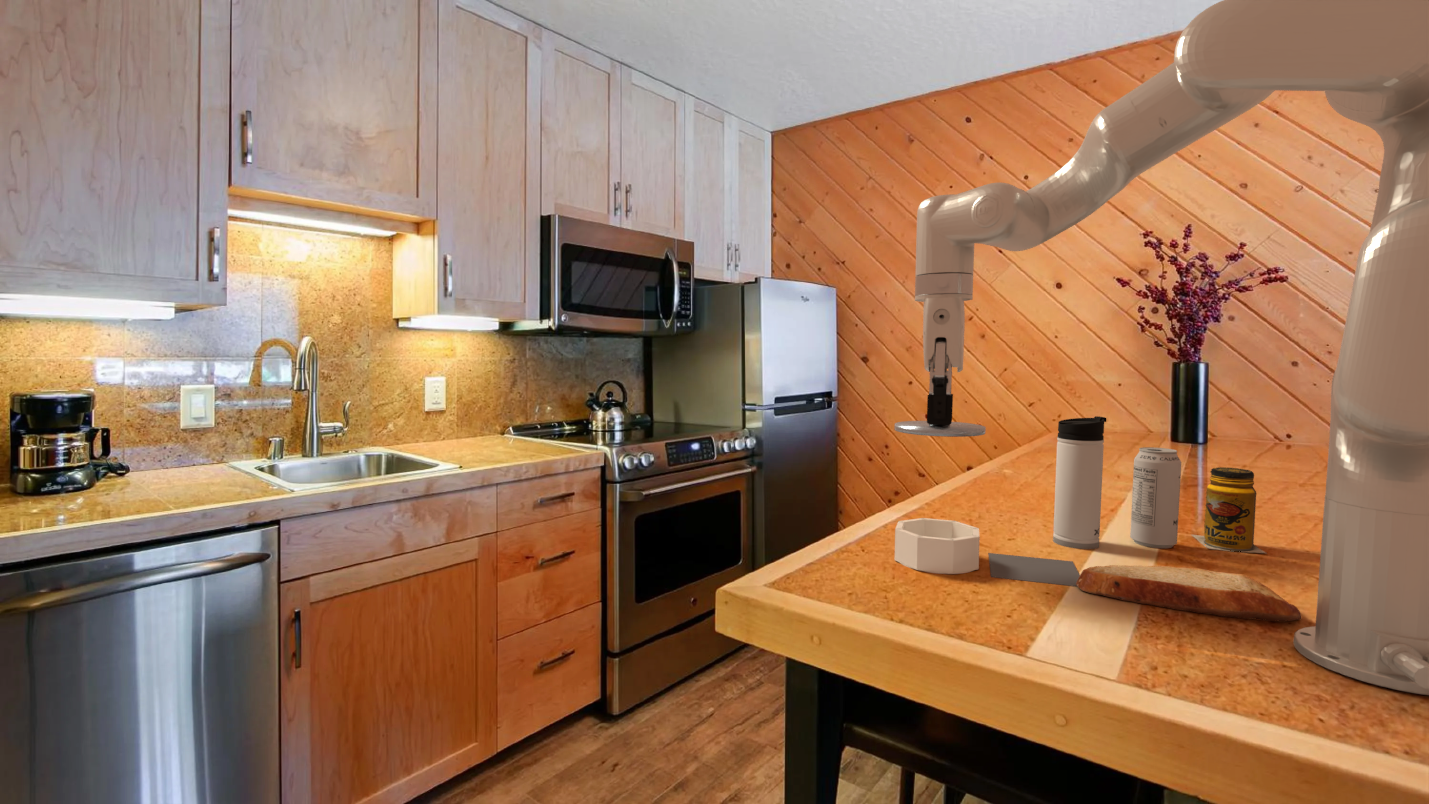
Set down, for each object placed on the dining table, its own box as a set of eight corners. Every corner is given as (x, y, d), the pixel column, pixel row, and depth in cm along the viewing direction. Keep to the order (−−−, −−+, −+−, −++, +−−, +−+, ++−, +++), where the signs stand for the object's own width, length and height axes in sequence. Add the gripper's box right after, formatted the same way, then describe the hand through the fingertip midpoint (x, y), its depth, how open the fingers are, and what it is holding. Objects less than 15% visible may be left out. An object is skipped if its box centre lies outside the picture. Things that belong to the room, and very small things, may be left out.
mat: (1085, 590, 83) (1085, 587, 83) (990, 579, 87) (991, 576, 87) (1072, 564, 93) (1072, 561, 93) (988, 555, 97) (988, 552, 97)
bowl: (978, 580, 86) (980, 543, 86) (892, 570, 90) (892, 534, 90) (977, 556, 97) (978, 522, 96) (899, 548, 101) (900, 516, 100)
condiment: (1208, 550, 100) (1213, 471, 99) (1190, 535, 108) (1194, 463, 107) (1267, 555, 98) (1272, 475, 97) (1244, 539, 106) (1249, 465, 105)
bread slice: (1062, 583, 84) (1064, 554, 84) (1160, 569, 90) (1162, 542, 90) (1211, 643, 67) (1214, 607, 67) (1318, 620, 74) (1322, 588, 73)
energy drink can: (1184, 552, 99) (1190, 453, 98) (1141, 550, 100) (1146, 452, 98) (1164, 541, 105) (1169, 447, 103) (1123, 539, 106) (1127, 446, 104)
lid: (986, 438, 84) (988, 393, 84) (890, 433, 89) (891, 390, 88) (984, 428, 96) (985, 388, 95) (898, 424, 100) (899, 386, 99)
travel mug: (1109, 551, 99) (1116, 419, 98) (1065, 551, 99) (1071, 418, 98) (1087, 539, 105) (1092, 414, 104) (1045, 539, 105) (1050, 414, 104)
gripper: (973, 283, 82) (968, 430, 83) (972, 293, 97) (968, 418, 98) (910, 285, 84) (906, 428, 86) (918, 295, 99) (915, 416, 101)
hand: (939, 421), depth 92 cm, fingers closed on lid, 2 cm apart
